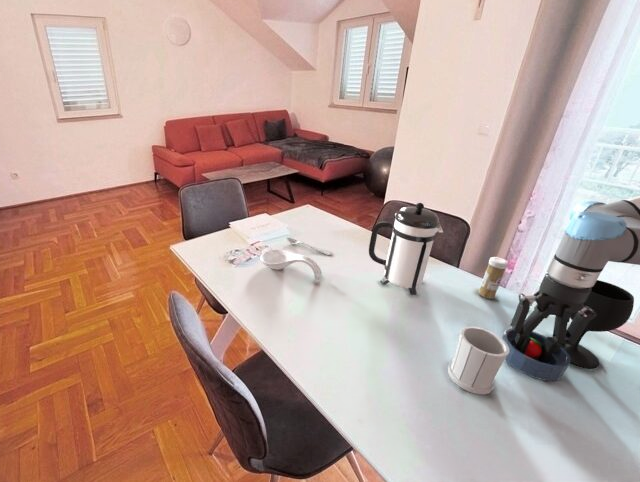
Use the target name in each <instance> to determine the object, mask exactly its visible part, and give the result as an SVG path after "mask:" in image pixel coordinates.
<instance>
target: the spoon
mask: <svg viewBox="0 0 640 482" xmlns="http://www.w3.org/2000/svg"><path fill="white" fill-rule="evenodd" d="M285 239H286V241H287V242H288V243H289V244H292V245H297V244H302V245H305V246H307V247H308V248H311V249H313V250H315V251H317V252H319V253H321V254H324V255H326V256H332V253H331V252H329V251H327V250H323V249H321V248H318V247H315V246H313V245H310V244H307V243H305V242H303V241H300V240H298V239H294V238H291V237H286V238H285Z"/></svg>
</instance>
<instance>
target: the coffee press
mask: <svg viewBox="0 0 640 482" xmlns="http://www.w3.org/2000/svg"><path fill="white" fill-rule="evenodd" d="M424 205H425V204H424V203H422V202H418V203H416V204H415V206H405V207H401V208H400V209H399V210H397V212H395V214H394V223H392V222H389V221H380V222H377V224H376V225H374V227H373V228H372V231H371V235H370V239H369V245H368V255H369V257H370V259H371V260H372V261H374V262H375V263H377V264H379V265H382V266H384V270H383V271H384V272H383V275H384V276H383V277H382V279H380V283H381V284H382V285H383V286H385V285H388V283H391V284H393V285H395V286H396V287H400V288H405V289H408V292H409V295H411V296H416V295H417V292H418V291H417V287H419V286H421V284H422V283H423V281H424V276H425V272H426V269H427V267H428V266H427V265H428V262H429V259H430V254H431V252H432V247H433V245H434V241H435V240H436V236H437V233H441V234H443V233H444V231H443V227H442V225H441V221H440V220H439V216H438V215H437V213H435V212H434V211H431V210H430V209H427V208H425V206H424ZM381 228H389V229H391V231H392V233H391V238H390V242H389V246H388V253H387V257H386V259H384V258H380V257H378V256H377V255H376V254H375V253H376V252H375V249H376V242H377V238H378V234H379V233H378V232H379V230H380V229H381Z"/></svg>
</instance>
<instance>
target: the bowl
mask: <svg viewBox="0 0 640 482" xmlns="http://www.w3.org/2000/svg"><path fill="white" fill-rule="evenodd" d="M516 335H517V333H515V332H514V330H513V329H512V327H510V328H508V329H506V330H505V331H504V332H503V335H502V337H501V338H502V339H503V340H504V341H505V342H506V343H507V345H508V347H509V354H508V356H507V357H506V359H505V360H504V361H506V362H507V363H508V364H509V365H511V366H512V367H514V368H515V369H517V370H518V371H520V372H522V373H524V374H526V375H528V376H530V377H532V378H536V379H539V380H543V381H558V380H559V379H561V378H563V376H564V375H565V374H566V371H567V370H568V368H569V366H570V365H571V364H570V357H569V355H568V354H567V352H566V351H565V350H564V349H563V348H561V347H560V349H559V351H558V353H557V354H552V355H551V357H550V359H549V361H548V363H547V364H546V363H542V362H541V361H540V360H539V358H538V357H536V358H530V357H528V356H526V355H524V354H523V353H521V352H520V351H518V350H517V349H516V348H515V347H516V345H517V344H516V342H515V338H516ZM529 336H530V338H531V337H532V338H534V339H535V340H537V341H539V342H540V343H542V344H543V345H544V343H545V341H546V339H547V337H548V336H545V335H543V334H541V333H538V332H535V331H533V332H532V333H531V334H530V335H529ZM540 347H541V346H540ZM542 347H543V346H542ZM542 347H541V348H542Z"/></svg>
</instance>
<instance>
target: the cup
mask: <svg viewBox="0 0 640 482" xmlns="http://www.w3.org/2000/svg"><path fill="white" fill-rule="evenodd" d="M508 354H509V347H508V345H507V343H506V342H505V341H504V340H503V339H502V337H500V336H499V335H498V334H496V333H494V332H492V331H491V330H488V329H485V328H482V327H479V326H466V327H463V328H462V329H461V330H460V334H459V339H458V342H457V346H456V350H455V353H454V356H453V359H452V360H451V361H450V362H449V363H448V366H447V374H448V375H449V377H450V379H451V380H452V381H453V382H454V383H455V384H456V385H457V386H459V387H460V388H462V389H463V390H465V391H467V392H468V393H472V394H475V395H488V394H491V392H492V391H493V388H494V386H495V385H494V383H495V382H494V380H495V378H496V376H497V374H498V372H499V370H500V368H501V367H502V366H503V363H504V362H505V361H506V360H505V359H506V357H507V356H508Z"/></svg>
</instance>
